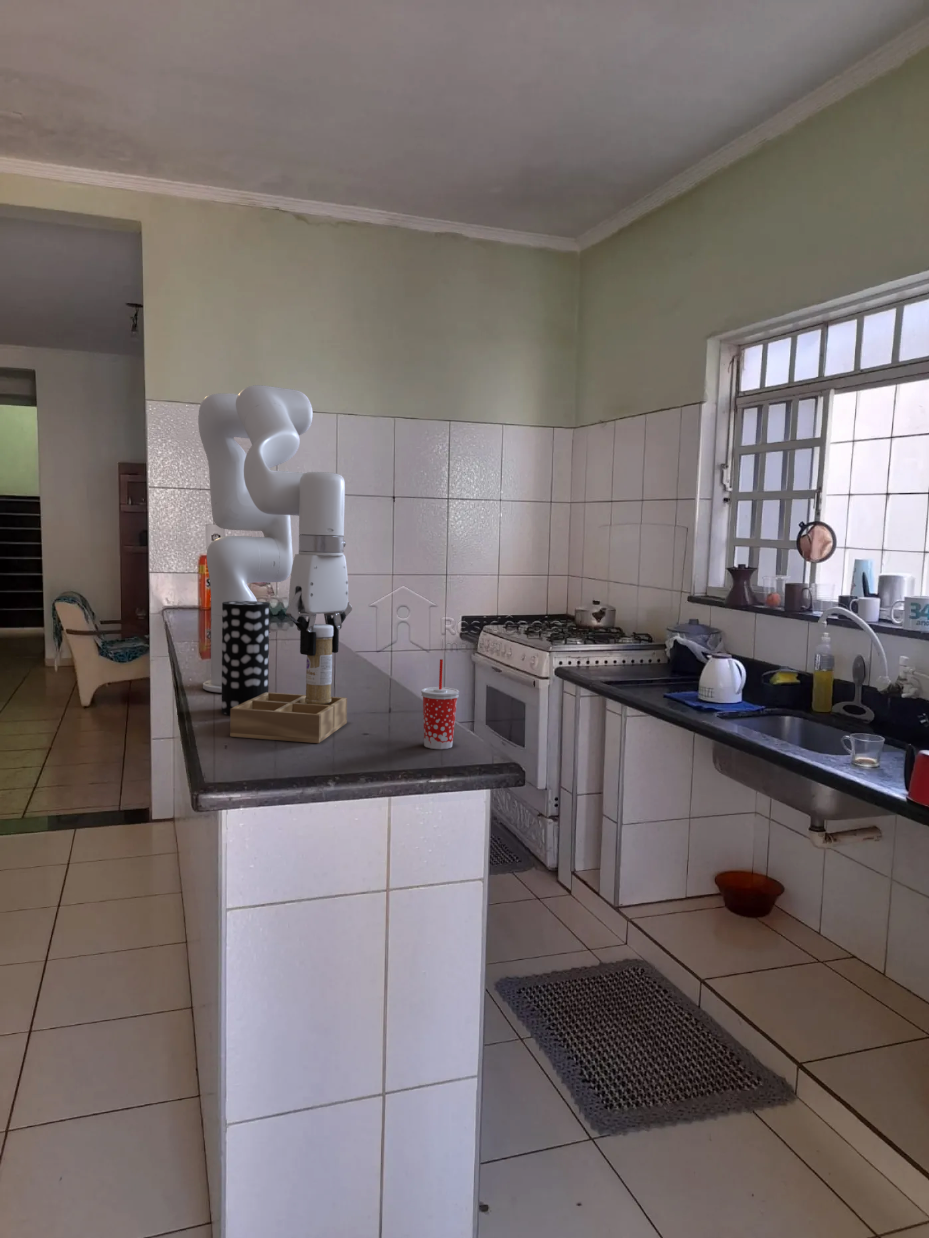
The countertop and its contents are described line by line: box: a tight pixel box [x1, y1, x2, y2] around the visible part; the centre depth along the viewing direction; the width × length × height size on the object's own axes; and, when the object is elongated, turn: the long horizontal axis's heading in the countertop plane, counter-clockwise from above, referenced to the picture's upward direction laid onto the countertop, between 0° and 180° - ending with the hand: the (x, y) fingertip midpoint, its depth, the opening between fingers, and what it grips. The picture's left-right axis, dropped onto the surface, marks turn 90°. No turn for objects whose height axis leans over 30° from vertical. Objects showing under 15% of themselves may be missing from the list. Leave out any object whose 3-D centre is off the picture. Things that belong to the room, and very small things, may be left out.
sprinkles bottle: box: [305, 623, 333, 704], centre depth 148 cm, size 5×5×14 cm
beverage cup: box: [420, 658, 460, 750], centre depth 138 cm, size 6×6×14 cm
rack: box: [229, 691, 348, 744], centre depth 146 cm, size 15×15×5 cm
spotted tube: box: [221, 600, 270, 716], centre depth 158 cm, size 8×8×20 cm
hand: (319, 652), depth 148 cm, fingers closed on sprinkles bottle, 4 cm apart
